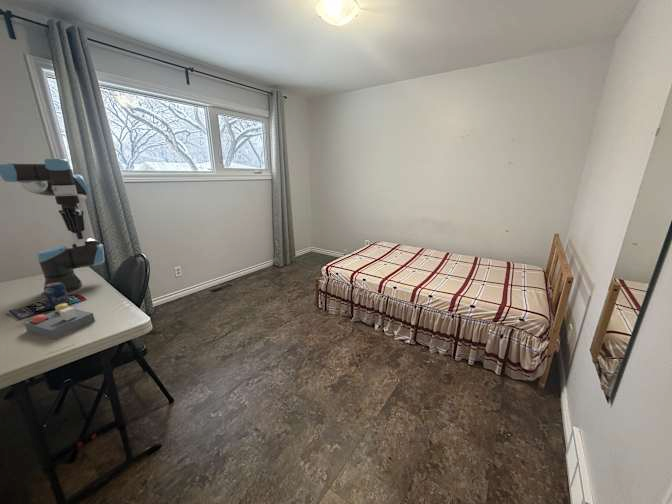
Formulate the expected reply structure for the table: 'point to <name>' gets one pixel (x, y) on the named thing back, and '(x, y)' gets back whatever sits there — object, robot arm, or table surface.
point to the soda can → (56, 294)
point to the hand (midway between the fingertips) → (80, 245)
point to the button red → (38, 319)
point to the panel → (59, 324)
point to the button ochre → (61, 307)
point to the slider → (68, 313)
